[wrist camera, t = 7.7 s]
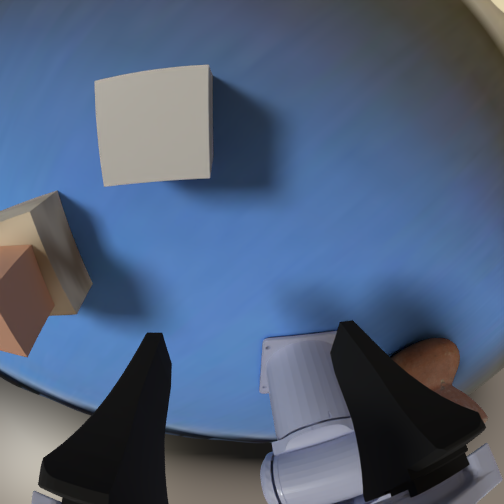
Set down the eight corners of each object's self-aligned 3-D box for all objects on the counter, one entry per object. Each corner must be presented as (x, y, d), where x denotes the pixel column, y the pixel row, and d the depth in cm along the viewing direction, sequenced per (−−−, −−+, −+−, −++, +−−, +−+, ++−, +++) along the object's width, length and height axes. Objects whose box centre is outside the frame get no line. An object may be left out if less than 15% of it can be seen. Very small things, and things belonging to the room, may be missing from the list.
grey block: (213, 155, 16) (209, 178, 12) (134, 161, 16) (104, 186, 11) (212, 75, 13) (208, 64, 9) (129, 84, 13) (94, 81, 9)
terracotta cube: (54, 305, 16) (27, 357, 12) (11, 301, 15) (-17, 345, 11) (31, 244, 13) (-11, 292, 9) (-12, 246, 13) (-50, 287, 9)
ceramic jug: (330, 378, 30) (363, 485, 18) (430, 303, 25) (497, 404, 13) (385, 403, 37) (412, 472, 25) (456, 351, 33) (495, 418, 21)
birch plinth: (94, 281, 20) (76, 314, 17) (30, 288, 20) (11, 316, 16) (59, 188, 16) (29, 211, 12) (-4, 211, 16) (-31, 234, 12)
